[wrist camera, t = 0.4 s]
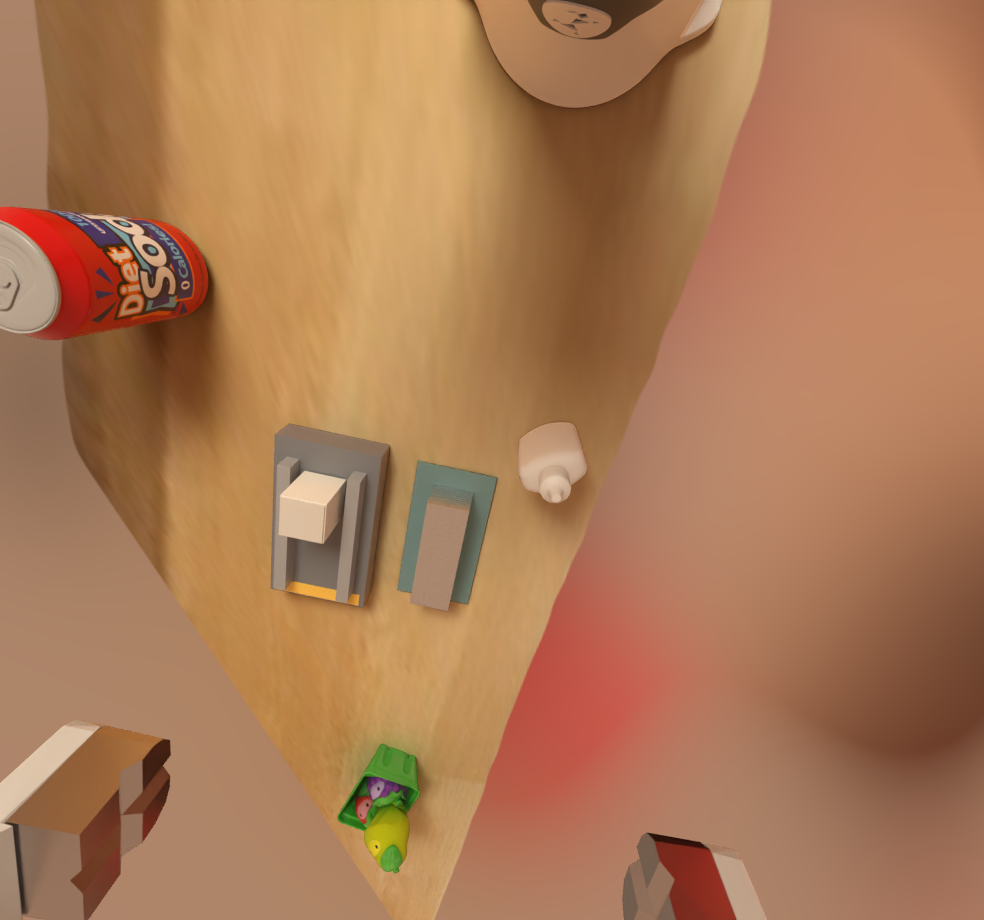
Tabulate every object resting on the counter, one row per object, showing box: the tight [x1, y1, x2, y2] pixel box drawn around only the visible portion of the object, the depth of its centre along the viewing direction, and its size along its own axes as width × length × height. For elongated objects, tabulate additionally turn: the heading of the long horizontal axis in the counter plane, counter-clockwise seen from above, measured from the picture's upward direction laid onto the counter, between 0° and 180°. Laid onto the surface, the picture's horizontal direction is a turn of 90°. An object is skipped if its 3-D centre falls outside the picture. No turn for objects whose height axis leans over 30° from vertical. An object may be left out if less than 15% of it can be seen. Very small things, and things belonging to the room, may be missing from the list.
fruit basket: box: [337, 744, 419, 873], centre depth 62 cm, size 11×9×11 cm
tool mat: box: [397, 461, 497, 604], centre depth 51 cm, size 16×8×1 cm, turn 168°
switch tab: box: [279, 471, 346, 544], centre depth 44 cm, size 4×4×5 cm
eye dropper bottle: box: [518, 422, 587, 503], centre depth 41 cm, size 4×6×12 cm
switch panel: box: [271, 424, 390, 608], centre depth 49 cm, size 18×10×5 cm, turn 168°
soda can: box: [0, 207, 208, 340], centre depth 36 cm, size 8×8×15 cm
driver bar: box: [410, 484, 473, 611], centre depth 49 cm, size 12×4×4 cm, turn 168°
